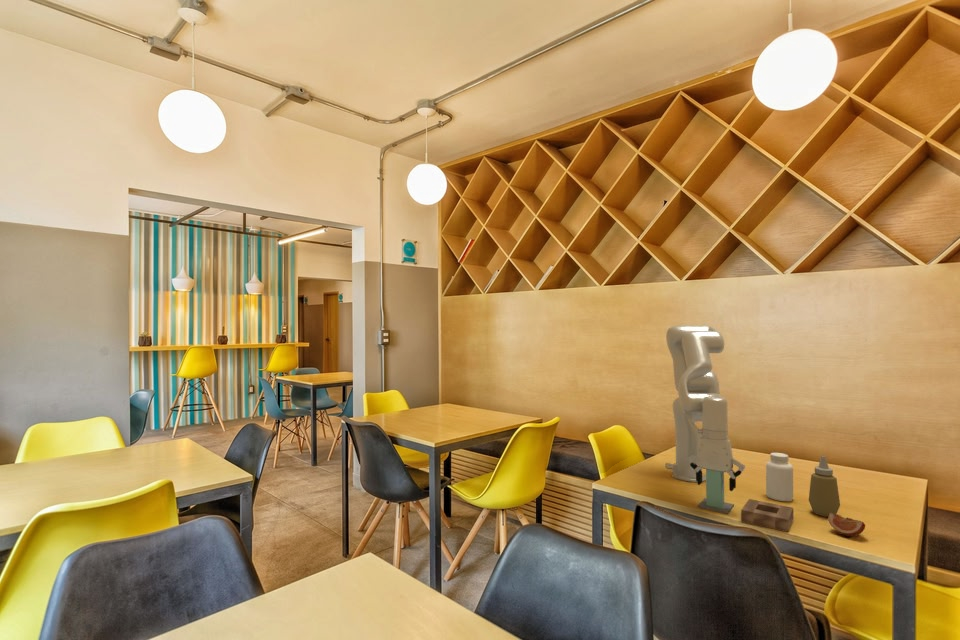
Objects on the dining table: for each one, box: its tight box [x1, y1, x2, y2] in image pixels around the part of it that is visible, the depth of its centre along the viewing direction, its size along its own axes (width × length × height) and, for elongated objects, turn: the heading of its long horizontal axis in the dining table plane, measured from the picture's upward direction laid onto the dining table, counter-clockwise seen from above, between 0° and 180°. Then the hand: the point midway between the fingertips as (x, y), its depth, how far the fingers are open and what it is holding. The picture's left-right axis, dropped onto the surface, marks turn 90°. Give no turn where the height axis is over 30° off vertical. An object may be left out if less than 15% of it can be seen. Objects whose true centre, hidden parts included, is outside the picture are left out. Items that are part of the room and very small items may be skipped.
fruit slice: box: [827, 513, 866, 537], centre depth 135 cm, size 8×7×5 cm
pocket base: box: [740, 498, 794, 533], centre depth 144 cm, size 12×12×4 cm
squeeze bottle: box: [808, 455, 841, 518], centre depth 149 cm, size 8×8×18 cm
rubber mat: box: [696, 497, 735, 515], centre depth 155 cm, size 9×9×1 cm
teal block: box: [705, 469, 725, 508], centre depth 156 cm, size 4×4×12 cm
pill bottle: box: [765, 452, 794, 502], centre depth 164 cm, size 8×8×15 cm
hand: (715, 486), depth 156 cm, fingers open, 9 cm apart
